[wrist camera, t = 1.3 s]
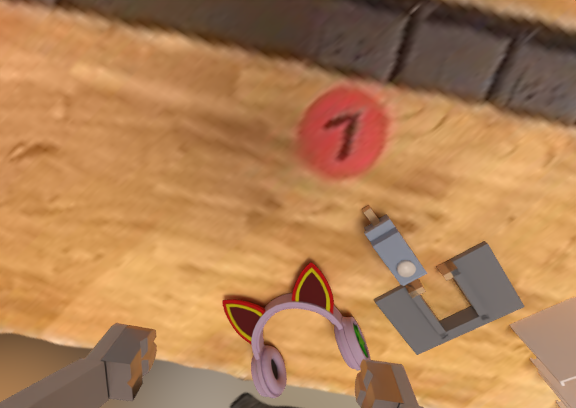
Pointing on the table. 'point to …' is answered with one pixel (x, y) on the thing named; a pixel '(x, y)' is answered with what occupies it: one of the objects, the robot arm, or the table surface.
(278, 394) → the headphones
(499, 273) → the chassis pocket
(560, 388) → the double compartment bin
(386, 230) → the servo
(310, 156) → the table surface
